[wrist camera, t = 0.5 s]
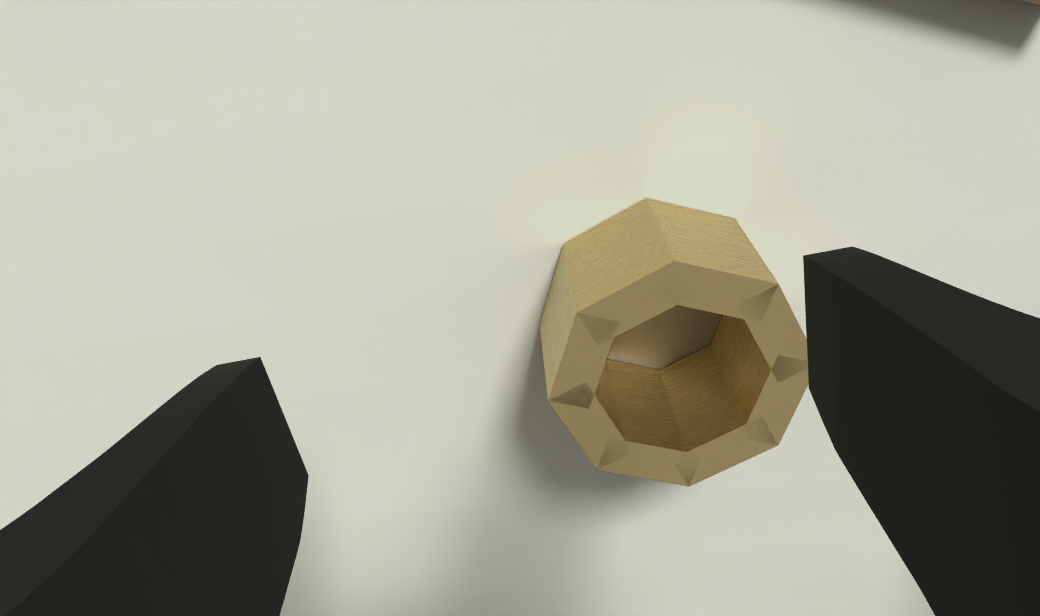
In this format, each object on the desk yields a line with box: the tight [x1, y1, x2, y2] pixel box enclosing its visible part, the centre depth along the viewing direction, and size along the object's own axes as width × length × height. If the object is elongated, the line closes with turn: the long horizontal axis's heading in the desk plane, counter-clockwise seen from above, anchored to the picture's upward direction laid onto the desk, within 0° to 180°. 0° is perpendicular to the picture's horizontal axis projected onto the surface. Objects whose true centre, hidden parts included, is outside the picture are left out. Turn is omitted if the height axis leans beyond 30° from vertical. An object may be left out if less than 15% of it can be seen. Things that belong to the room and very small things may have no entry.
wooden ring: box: [540, 198, 809, 486], centre depth 20 cm, size 6×6×4 cm
